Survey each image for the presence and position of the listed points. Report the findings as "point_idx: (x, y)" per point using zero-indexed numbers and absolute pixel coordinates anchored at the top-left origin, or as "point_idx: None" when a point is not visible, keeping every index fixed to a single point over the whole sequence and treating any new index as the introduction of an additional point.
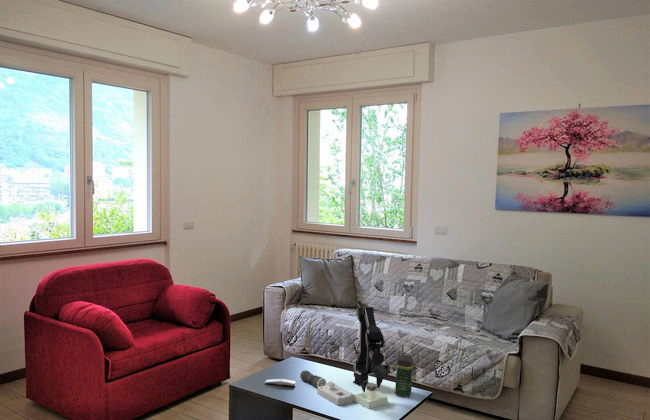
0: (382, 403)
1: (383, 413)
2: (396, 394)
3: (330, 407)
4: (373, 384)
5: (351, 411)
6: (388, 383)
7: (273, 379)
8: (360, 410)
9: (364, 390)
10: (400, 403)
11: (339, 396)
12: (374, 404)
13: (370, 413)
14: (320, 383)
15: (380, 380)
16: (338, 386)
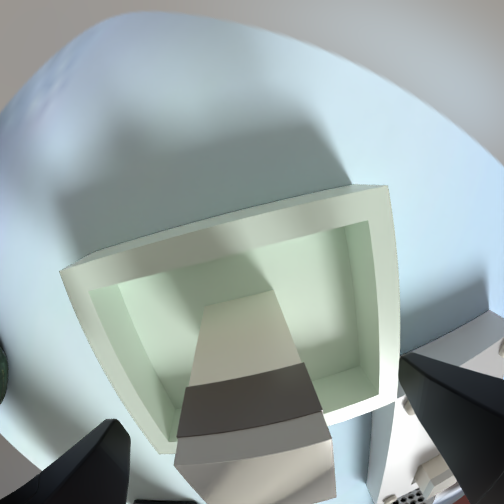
0: (150, 235)
1: (255, 45)
2: (1, 350)
3: None
4: (237, 477)
5: (478, 196)
6: (43, 464)
7: (452, 493)
8: (426, 183)
9: (431, 359)
10: (6, 215)
11: (489, 368)
12: (275, 204)
13: (376, 93)
14: (415, 496)
15: (58, 500)
16: (381, 490)
